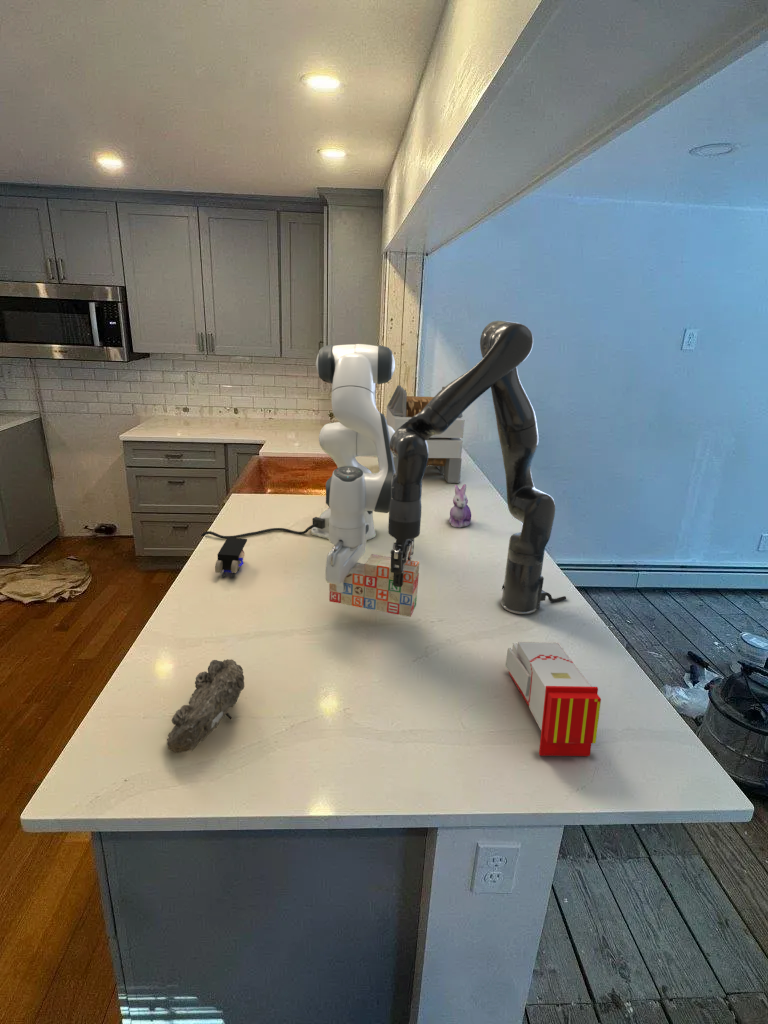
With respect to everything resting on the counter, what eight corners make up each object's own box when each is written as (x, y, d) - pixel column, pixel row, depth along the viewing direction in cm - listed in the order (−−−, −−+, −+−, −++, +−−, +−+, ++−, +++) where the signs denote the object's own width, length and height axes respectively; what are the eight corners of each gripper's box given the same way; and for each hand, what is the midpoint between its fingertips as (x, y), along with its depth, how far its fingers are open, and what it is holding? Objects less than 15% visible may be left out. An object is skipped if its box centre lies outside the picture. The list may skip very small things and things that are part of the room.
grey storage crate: (382, 463, 289) (386, 382, 275) (445, 464, 293) (451, 384, 279) (390, 482, 257) (394, 392, 243) (460, 483, 261) (468, 394, 247)
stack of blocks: (328, 602, 142) (328, 557, 138) (337, 591, 148) (337, 548, 144) (411, 617, 137) (414, 571, 133) (417, 605, 143) (419, 560, 138)
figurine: (457, 529, 205) (460, 490, 200) (441, 520, 214) (444, 482, 209) (478, 526, 210) (482, 487, 205) (462, 517, 218) (465, 480, 213)
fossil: (192, 660, 117) (244, 628, 112) (224, 691, 120) (276, 661, 115) (142, 746, 98) (202, 712, 93) (182, 779, 101) (242, 748, 96)
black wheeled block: (238, 584, 162) (249, 557, 175) (236, 562, 158) (247, 536, 172) (215, 584, 161) (227, 556, 175) (212, 561, 158) (225, 535, 171)
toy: (554, 624, 127) (610, 694, 97) (548, 679, 130) (602, 763, 100) (500, 623, 126) (541, 693, 97) (496, 678, 129) (534, 763, 100)
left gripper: (344, 551, 128) (343, 605, 133) (371, 521, 147) (369, 570, 151) (318, 547, 129) (318, 601, 134) (348, 518, 148) (347, 566, 153)
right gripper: (413, 528, 125) (409, 595, 131) (426, 508, 138) (422, 570, 144) (380, 523, 127) (378, 590, 132) (397, 504, 140) (394, 565, 146)
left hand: (345, 584), depth 143 cm, fingers closed on stack of blocks, 6 cm apart
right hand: (401, 579), depth 138 cm, fingers closed on stack of blocks, 6 cm apart
